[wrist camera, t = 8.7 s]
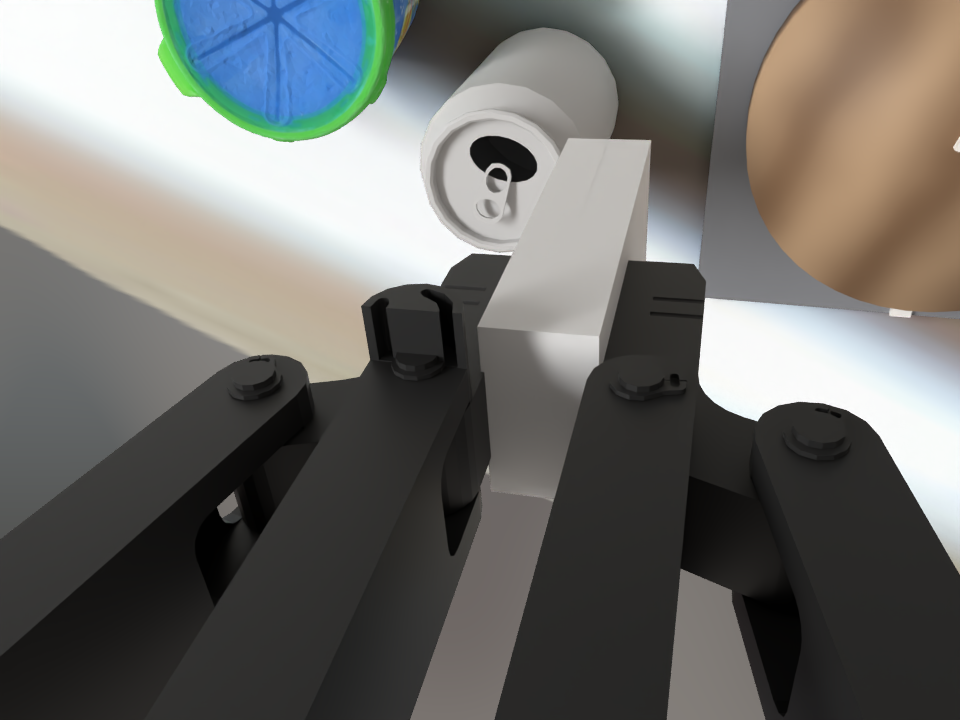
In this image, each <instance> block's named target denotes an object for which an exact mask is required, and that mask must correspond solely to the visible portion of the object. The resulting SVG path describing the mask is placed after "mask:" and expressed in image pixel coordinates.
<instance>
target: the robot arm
mask: <svg viewBox="0 0 960 720" xmlns="http://www.w3.org/2000/svg"><path fill="white" fill-rule="evenodd" d="M650 155H651V140H624V139H580V138H568V140H567V142H566V144H565V146H564V148H563V150H562V152H561V155H560V157H559V159H558V161H557V163H556V165H555V167H554V169H553V171H552V173H551V175H550V177H549V179H548V181H547V183H546V186H545V188H544V190H543V192H542V194H541V196H540V198H539V200H538V202H537V204H536V206H535V208H534V210H533V212H532V215H531V217H530V219H529V221H528V223H527V225H526V227H525V229H524V231H523V233H522V235H521V237H520V239H519V241H518V243H517V246H516V248H515V250H514V252H513V254H512V256H506V255H489V254H471V255H469V256H468V257H466V258H465V259H463V260H462V261H460V262H459V263H458V264H456V265H455V266H453V267H452V268H451V269H450V271H449V272H448V274H447V276H446V277H445V279H444V281H443V283H442V284H441V286H436V285H430V284H407V285H403V286H398V287H394V288H389V289H387V290H384V291H382V292H380V293H378V294H376V295H374V296H372V297H371V298H370V299H368V300H367V301H366V302H365V303H364V304H363V305H362V306H361V308H362V313H363V319H364V325H365V331H366V337H367V343H368V349H369V355H370V362H369V363H368V365H367V366H366V368H365V369H364V371H363V373H362V374H361V376H360V377H357V378H351V379H346V380H338V381H329V382H320V383H309V378H308V374H307V371H306V369H305V368H304V366H303V365H302V363H301V362H299V361H297V360H294V359H292V358H290V357H288V356H279V355H262V356H260V355H258V356H252V357H249V358H247V359H243V360H240V361H237V362H234V363H232V364H230V365H229V366H227V367H225V368H224V369H222V370H220V371H218V372H217V373H216V374H215V375H213V376H212V377H210V378H209V379H208V380H207V381H205V382H204V383H203V384H201V385H200V386H199V387H197V388H196V389H195V390H194V391H192V392H191V393H190V394H188V395H187V396H186V397H184V398H183V399H182V400H181V401H180V402H178V403H177V404H176V405H174V406H173V407H171V408H170V409H169V410H168V411H166V412H165V413H164V414H162V415H161V416H160V417H158V418H157V419H156V420H155V421H153V422H152V423H151V424H149V425H148V426H147V427H145V428H144V429H143V430H142V431H140V432H139V433H138V434H136V435H135V436H134V437H133V438H131V439H130V440H129V441H127V442H126V443H125V444H123V445H122V446H121V447H120V448H118V449H117V450H116V451H114V452H113V453H112V454H110V455H109V456H108V457H107V458H105V459H104V460H103V461H101V462H100V463H99V464H97V465H96V466H95V467H94V468H92V469H91V470H90V471H88V472H87V473H86V474H84V475H83V476H82V477H81V478H79V479H78V480H77V481H76V482H74V483H73V484H71V485H70V486H69V487H68V488H66V489H65V490H64V491H62V492H61V493H60V494H58V495H57V496H56V497H55V498H53V499H52V500H51V501H50V502H48V503H47V504H45V505H44V506H43V507H42V508H40V509H39V510H38V511H36V512H35V513H34V514H33V515H31V516H30V517H29V518H27V519H26V520H25V521H23V522H22V523H21V524H20V525H18V526H17V527H16V528H14V529H13V530H12V531H10V532H9V533H8V534H7V535H5V536H4V537H3V538H1V539H0V720H410V718H411V715H412V712H413V709H414V706H415V704H416V701H417V698H418V695H419V693H420V689H421V687H422V684H423V681H424V678H425V676H426V673H427V670H428V667H429V664H430V661H431V658H432V655H433V652H434V650H435V647H436V644H437V641H438V638H439V636H440V633H441V630H442V627H443V624H444V621H445V619H446V616H447V613H448V610H449V607H450V604H451V602H452V599H453V596H454V593H455V590H456V587H457V585H458V582H459V579H460V576H461V573H462V571H463V567H464V565H465V562H466V559H467V556H468V554H469V550H470V548H471V545H472V542H473V539H474V537H475V534H476V531H477V528H478V525H479V522H480V519H481V512H482V500H481V490H480V485H481V483H482V480H483V477H484V475H485V472H486V469H487V467H488V464H489V474H490V485H491V491H495V492H502V493H510V494H518V495H526V496H533V497H541V498H549V499H554V502H553V506H552V509H551V513H550V517H549V521H548V524H547V528H546V532H545V535H544V539H543V543H542V546H541V550H540V554H539V557H538V561H537V565H536V569H535V572H534V576H533V580H532V583H531V587H530V591H529V594H528V598H527V602H526V606H525V609H524V613H523V617H522V620H521V624H520V627H519V631H518V635H517V639H516V642H515V646H514V650H513V653H512V657H511V661H510V665H509V668H508V672H507V675H506V679H505V683H504V686H503V690H502V694H501V698H500V702H499V705H498V709H497V713H496V716H495V720H667V709H668V698H669V687H670V677H671V666H672V655H673V644H674V633H675V622H676V612H677V601H678V589H679V579H680V568H681V569H683V570H686V571H688V572H690V573H693V574H695V575H697V576H700V577H702V578H704V579H707V580H709V581H712V582H714V583H716V584H719V585H721V586H723V587H726V588H728V589H731V590H732V603H733V606H734V610H735V613H736V617H737V620H738V624H739V628H740V631H741V635H742V638H743V642H744V645H745V648H746V652H747V655H748V659H749V663H750V666H751V670H752V673H753V676H754V680H755V684H756V687H757V691H758V694H759V698H760V702H761V705H762V709H763V712H764V716H765V719H766V720H960V575H959V573H958V571H957V569H956V568H955V566H954V564H953V562H952V561H951V559H950V557H949V556H948V554H947V552H946V550H945V549H944V547H943V545H942V543H941V542H940V540H939V538H938V537H937V535H936V533H935V531H934V530H933V528H932V526H931V524H930V523H929V521H928V519H927V518H926V516H925V514H924V512H923V511H922V509H921V507H920V505H919V504H918V502H917V500H916V499H915V497H914V495H913V493H912V492H911V490H910V488H909V486H908V485H907V483H906V481H905V480H904V478H903V476H902V474H901V473H900V471H899V469H898V467H897V466H896V464H895V462H894V461H893V459H892V457H891V455H890V454H889V452H888V450H887V448H886V447H885V445H884V443H883V442H882V440H881V438H880V436H879V435H878V434H877V433H876V432H875V431H874V430H873V429H872V427H871V426H870V425H869V424H868V423H867V422H866V421H864V420H862V419H861V418H859V417H857V416H855V415H854V414H852V413H850V412H849V411H847V410H844V409H840V408H837V407H833V406H830V405H826V404H822V403H808V402H796V403H790V404H784V405H778V406H777V407H775V408H773V409H771V410H769V411H767V412H765V413H764V414H762V416H761V417H760V419H759V420H758V422H757V421H754V420H751V419H748V418H744V417H742V416H739V415H737V414H734V413H732V412H729V411H727V410H725V409H724V408H722V407H720V406H719V405H717V404H715V403H714V402H713V401H712V400H711V399H710V398H709V397H708V396H707V395H706V394H705V393H704V391H703V390H702V388H701V386H700V384H699V378H698V370H699V358H700V347H701V335H702V324H703V313H704V301H705V290H706V280H705V279H704V278H703V276H702V275H701V273H700V272H699V271H698V269H697V268H696V267H695V265H694V264H684V263H667V262H650V261H646V243H647V221H648V199H649V177H650ZM233 491H234V494H235V497H236V500H237V503H238V507H237V508H236V509H235V510H234V511H233V512H232V513H230V514H228V515H227V516H225V517H224V518H221V517H220V515H219V512H218V509H217V506H218V505H220V503H222V502H223V500H225V499H226V498H227V497H228V496H229V495H230V494H231V493H232V492H233Z"/></svg>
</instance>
